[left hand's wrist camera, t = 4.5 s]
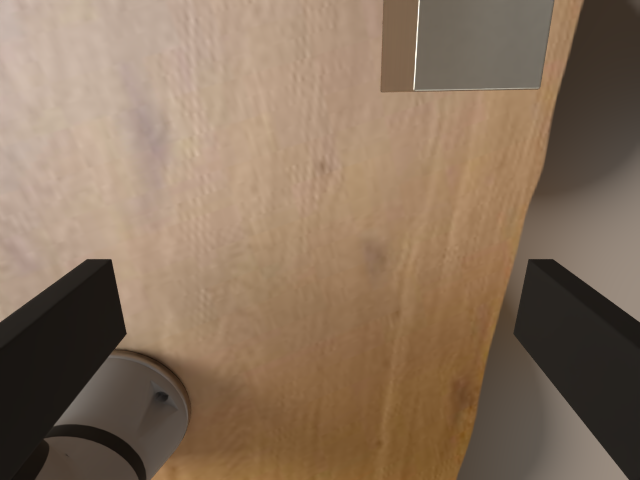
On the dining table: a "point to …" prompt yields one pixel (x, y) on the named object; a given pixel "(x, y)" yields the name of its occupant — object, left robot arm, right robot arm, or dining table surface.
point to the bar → (464, 44)
